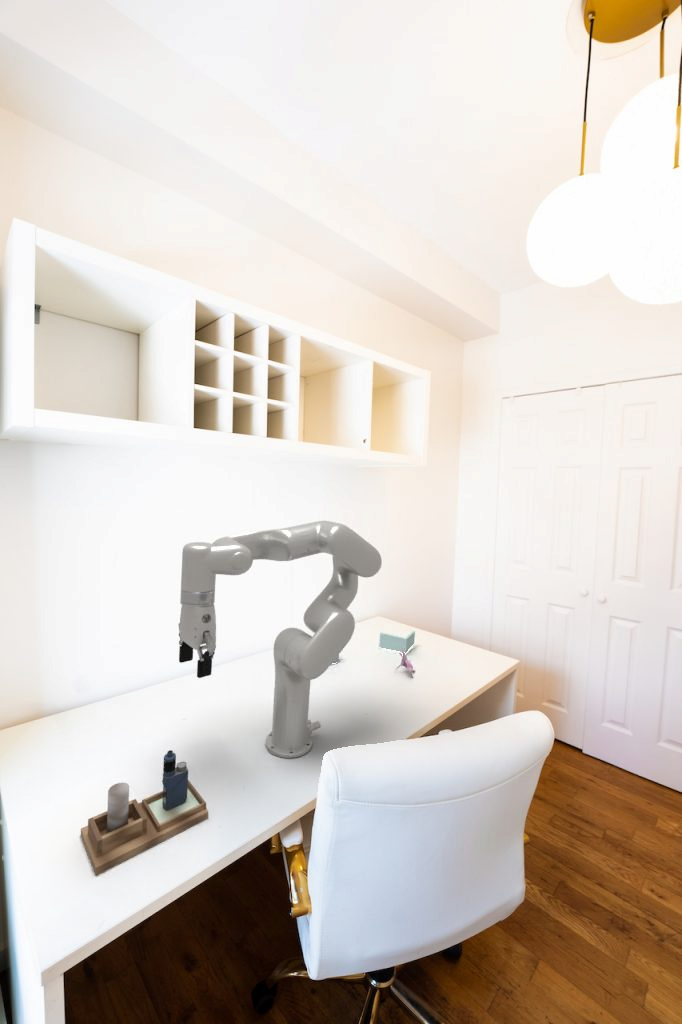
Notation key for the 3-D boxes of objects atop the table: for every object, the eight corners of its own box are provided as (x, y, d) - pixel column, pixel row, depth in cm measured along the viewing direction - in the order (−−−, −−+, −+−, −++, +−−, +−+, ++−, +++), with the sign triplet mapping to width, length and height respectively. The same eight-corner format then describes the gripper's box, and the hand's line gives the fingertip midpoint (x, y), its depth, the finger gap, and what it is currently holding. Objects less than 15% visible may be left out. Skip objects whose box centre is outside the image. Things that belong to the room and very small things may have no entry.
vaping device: (159, 805, 91) (161, 750, 90) (184, 794, 94) (186, 741, 94) (163, 813, 89) (166, 757, 88) (189, 801, 92) (191, 747, 92)
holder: (185, 788, 98) (187, 744, 98) (207, 818, 90) (210, 770, 90) (80, 835, 84) (81, 784, 83) (95, 875, 76) (97, 819, 75)
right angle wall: (413, 647, 194) (414, 631, 194) (405, 656, 184) (406, 639, 183) (388, 641, 200) (389, 625, 199) (378, 650, 189) (380, 633, 188)
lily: (403, 686, 159) (417, 664, 158) (379, 664, 165) (393, 643, 165) (414, 684, 169) (428, 664, 168) (391, 664, 175) (404, 644, 175)
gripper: (231, 603, 96) (227, 678, 97) (196, 586, 109) (194, 652, 110) (198, 608, 91) (195, 687, 92) (166, 589, 103) (164, 659, 105)
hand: (194, 668), depth 101 cm, fingers open, 9 cm apart
